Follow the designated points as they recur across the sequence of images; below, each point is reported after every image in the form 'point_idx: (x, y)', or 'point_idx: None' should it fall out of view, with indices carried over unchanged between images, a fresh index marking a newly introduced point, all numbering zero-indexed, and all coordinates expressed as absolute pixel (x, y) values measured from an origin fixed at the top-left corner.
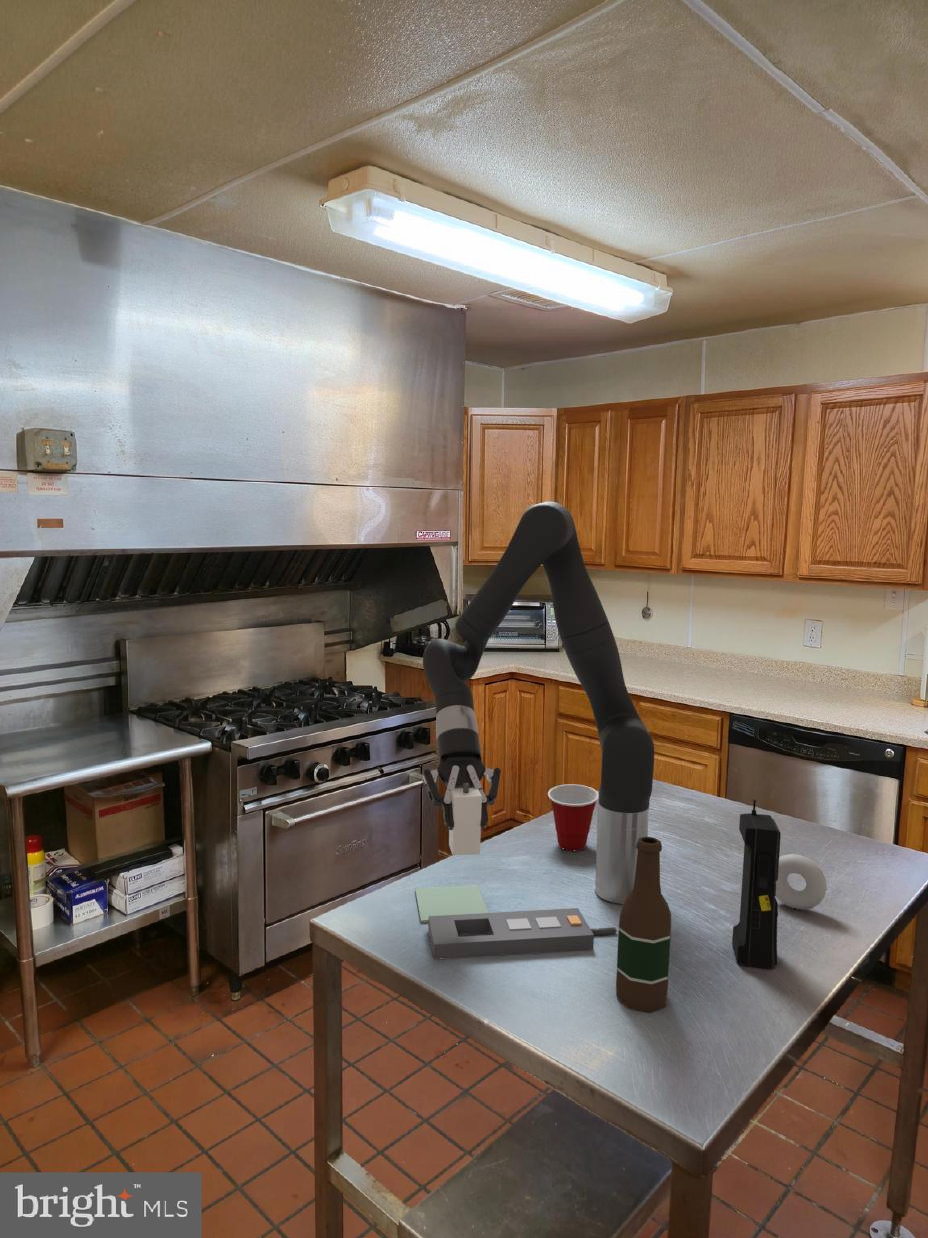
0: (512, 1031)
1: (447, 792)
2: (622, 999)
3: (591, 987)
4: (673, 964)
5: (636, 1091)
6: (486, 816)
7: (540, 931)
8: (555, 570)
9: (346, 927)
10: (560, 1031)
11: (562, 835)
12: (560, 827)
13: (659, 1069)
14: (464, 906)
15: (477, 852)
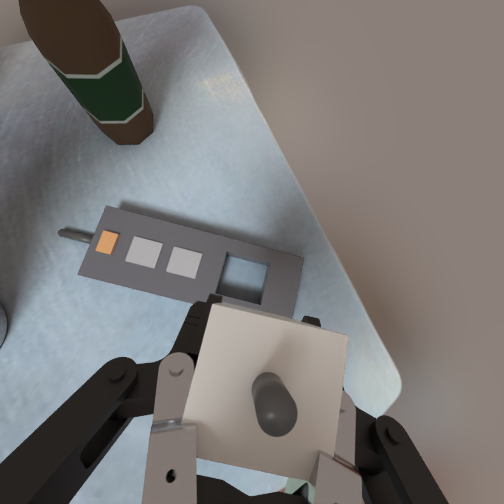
0: (269, 132)
1: (346, 452)
2: (152, 121)
3: (164, 156)
4: (50, 155)
5: (213, 46)
6: (192, 314)
7: (166, 237)
8: None
9: (380, 370)
10: (230, 117)
11: None
12: None
13: (181, 55)
14: None
15: (229, 303)
